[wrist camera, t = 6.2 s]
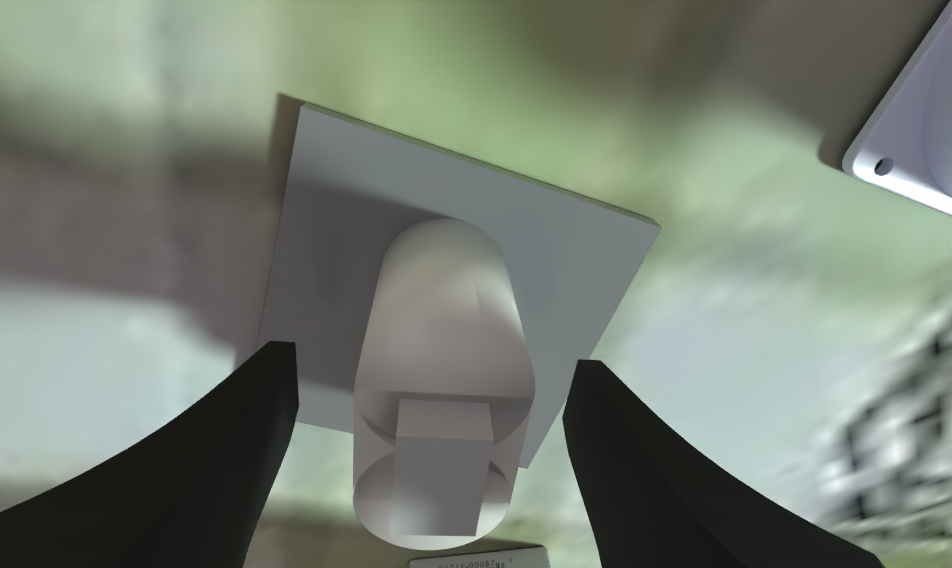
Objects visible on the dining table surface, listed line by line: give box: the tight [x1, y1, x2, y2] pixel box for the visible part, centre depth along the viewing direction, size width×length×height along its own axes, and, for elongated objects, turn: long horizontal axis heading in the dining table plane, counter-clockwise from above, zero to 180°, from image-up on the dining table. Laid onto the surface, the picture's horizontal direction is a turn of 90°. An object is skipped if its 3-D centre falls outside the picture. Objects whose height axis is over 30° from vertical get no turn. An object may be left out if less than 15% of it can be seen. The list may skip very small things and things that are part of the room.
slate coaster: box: [255, 102, 662, 469], centre depth 15 cm, size 10×10×1 cm
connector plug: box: [353, 218, 535, 550], centre depth 12 cm, size 4×7×6 cm, turn 173°
